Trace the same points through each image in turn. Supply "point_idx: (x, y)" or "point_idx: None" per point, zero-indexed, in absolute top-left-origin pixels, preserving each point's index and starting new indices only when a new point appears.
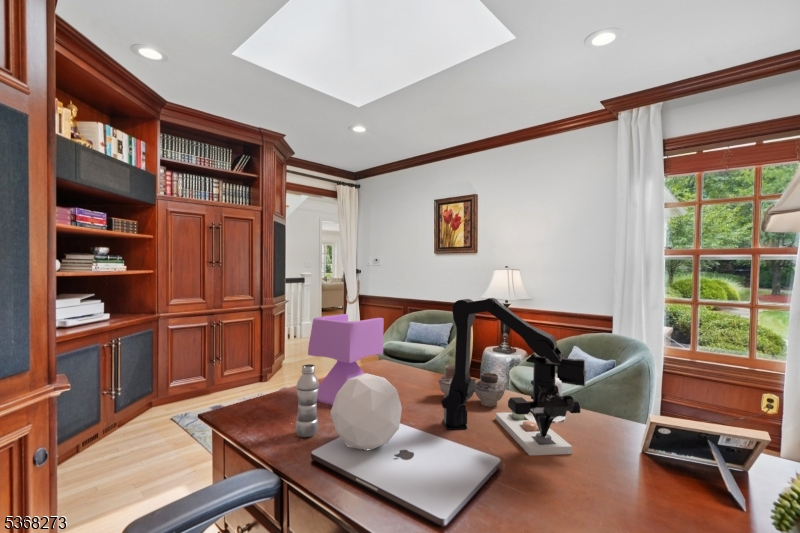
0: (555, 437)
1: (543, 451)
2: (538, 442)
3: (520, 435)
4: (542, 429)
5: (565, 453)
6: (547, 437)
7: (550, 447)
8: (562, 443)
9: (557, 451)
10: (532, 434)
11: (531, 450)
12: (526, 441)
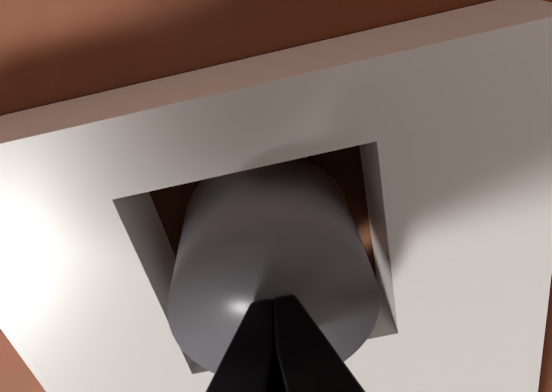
0: (101, 357)
1: (334, 49)
2: (351, 221)
3: (511, 333)
4: (331, 370)
5: (30, 110)
6: (229, 282)
7: (230, 91)
8: (28, 230)
9: (130, 96)
10: (357, 374)
11: (529, 8)
12: (520, 204)
